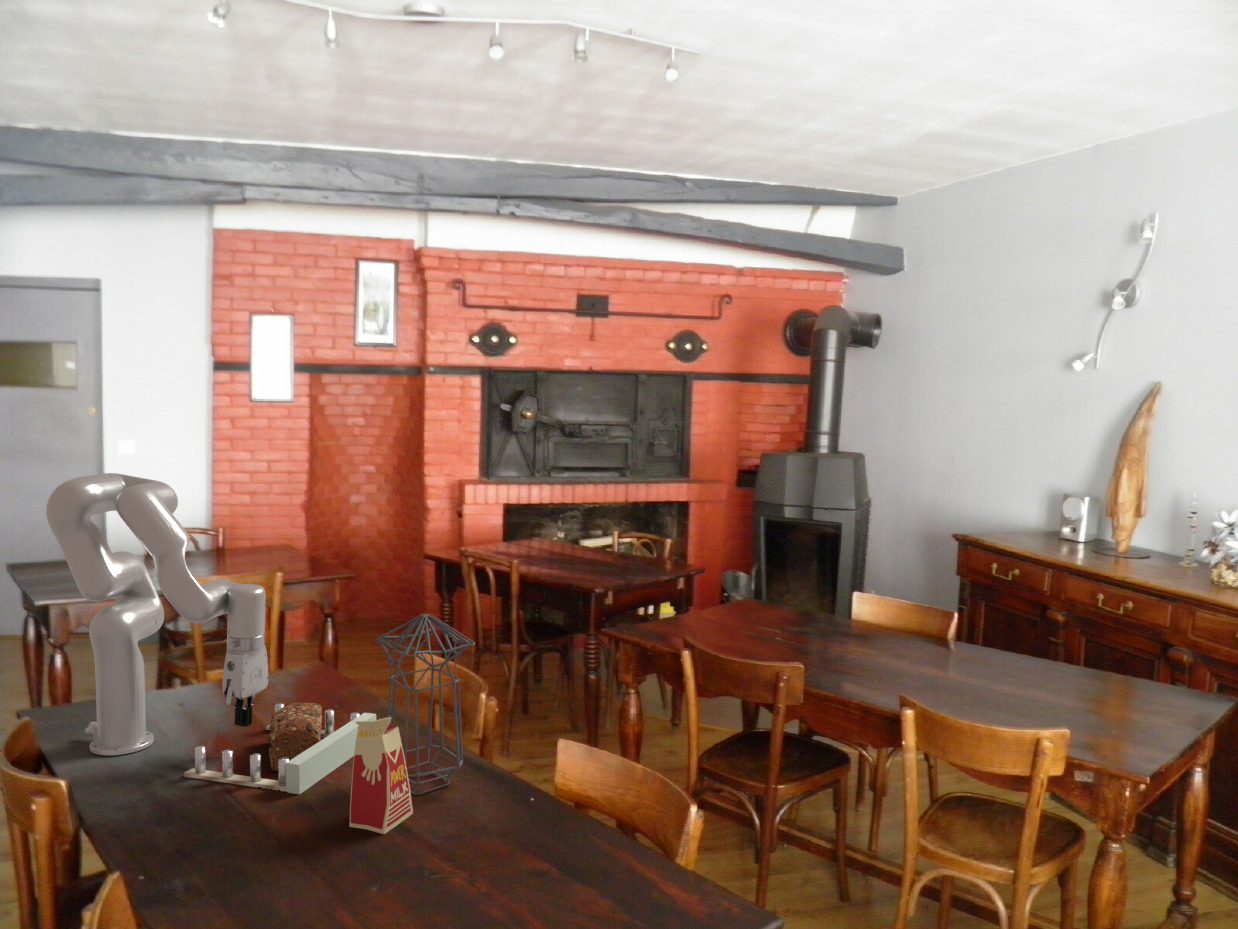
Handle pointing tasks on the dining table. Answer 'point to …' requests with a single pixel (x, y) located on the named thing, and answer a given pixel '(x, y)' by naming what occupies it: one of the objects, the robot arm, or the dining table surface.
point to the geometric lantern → (450, 633)
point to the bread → (294, 731)
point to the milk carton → (379, 778)
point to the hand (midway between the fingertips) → (243, 724)
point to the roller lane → (297, 770)
